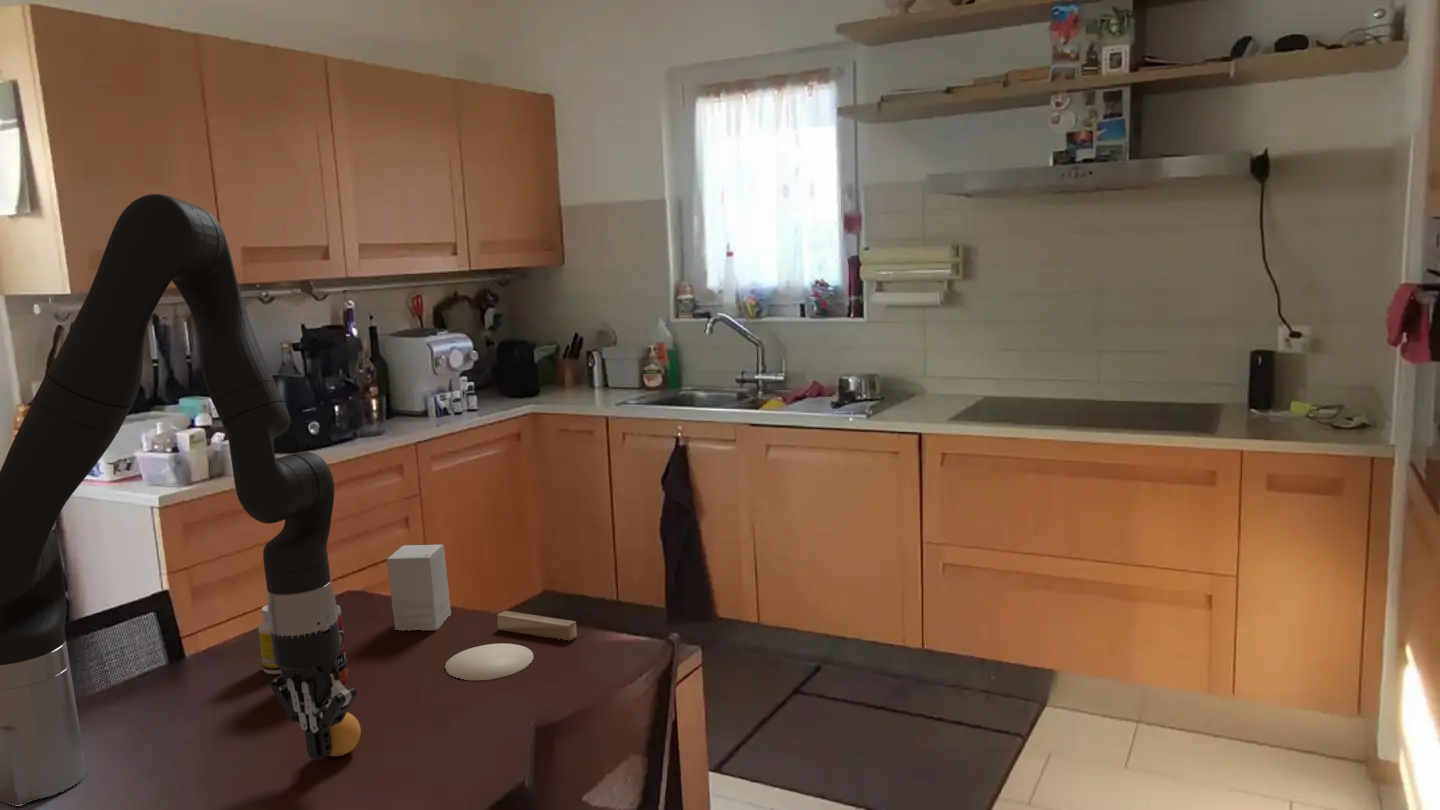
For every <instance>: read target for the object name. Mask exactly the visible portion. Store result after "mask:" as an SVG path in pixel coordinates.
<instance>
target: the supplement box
mask: <svg viewBox="0 0 1440 810" xmlns="http://www.w3.org/2000/svg"><path fill="white" fill-rule="evenodd" d="M386 563H387V570H388V571H387V572H388V579H389V587H390V596H391V598H390V599H391V607H392V614H393V622H394V623H393V624H394V629H395V630H399V631H398V632H404V631H405V630H406V631H405V632H409V631H411V630H414V631H415V630H421V631H437V630H439V628H440V627H441V626H442V625H443V624H444V623H445V622H446V621H447V620H448V619H449V618H450V617H451V616H452V609H451V601H450V593H449V591H450V590H449V583H448V582H449V581H448V570H447V561H446V552H445V545H444V544H441V543H440V544H412V545H411V544H408V545H407V544H405V545H402V546H401V547H400V548H398V549H397V550H396V551H395V552H394V553H392V554H391V555H390V556H388V558H387V557H386ZM449 616H450V617H449ZM448 617H449V618H448ZM447 618H448V619H447ZM446 619H447V620H446ZM444 621H445V622H444ZM395 630H394V631H395ZM400 630H401V631H400ZM407 630H408V631H407Z"/></svg>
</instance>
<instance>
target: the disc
mask: <svg viewBox="0 0 1440 810" xmlns="http://www.w3.org/2000/svg"><path fill="white" fill-rule="evenodd" d="M532 660H533V661H534V653H533V651H532V650H531V649H530V648H528V647H526V646H523V645H519V644H514V643H490V644H485V645H479V646H474V647H470V648H467V649H464V650H462V651H460V652H457V654H454V655H453V656H451V657H450V658H449V659H448V660H447V661H446V663H445V666H444V667H445V669H446V670H445V672H446V673H447V674H448V675H449V676H450V677H452V676H453V678H455V677H456V679H458V678H460V680H463V679H464V681H490V680H496V679H499V678H505V677H508V676H511V675H514V674H516V673H519V672H520V671H523V670H524V669H526V668H527V667H529V666H530V665H531V664H530V663H532V662H533V661H532ZM529 664H530V665H529Z"/></svg>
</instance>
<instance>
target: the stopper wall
mask: <svg viewBox="0 0 1440 810" xmlns="http://www.w3.org/2000/svg"><path fill="white" fill-rule="evenodd" d="M496 617H497V618H496V621H497V630H499V631H504V632H505V631H506V632H511V633H516V634H524V635H529V634H530V636H537V637H541V636H542V637H544V638H548V637H549V639H554V638H557V639H556V640H560V639H563V640H562V641H566V640H568V641H567V642H571V641H572V640H574V639H575V638H577V637H578V634H577V633H578V631H577V621H576V620H575V621H574V620H570V619H569V620H567V619H563V618H555V617H550V616H549V617H548V616H543V615H537V614H536V615H535V614H530V613H523V612H516V611H508V610H504V611H501V612H500V613H498V614H496ZM550 637H551V638H550ZM570 640H571V641H570Z"/></svg>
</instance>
